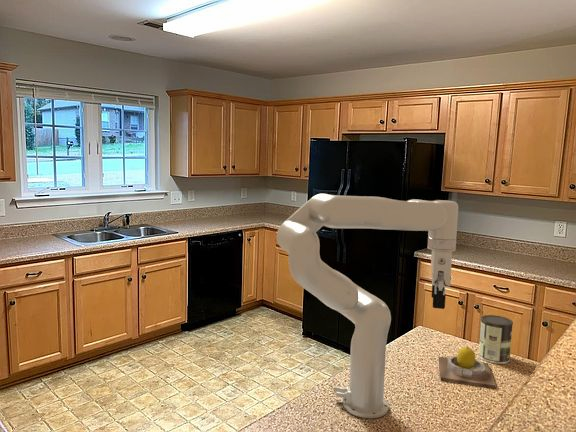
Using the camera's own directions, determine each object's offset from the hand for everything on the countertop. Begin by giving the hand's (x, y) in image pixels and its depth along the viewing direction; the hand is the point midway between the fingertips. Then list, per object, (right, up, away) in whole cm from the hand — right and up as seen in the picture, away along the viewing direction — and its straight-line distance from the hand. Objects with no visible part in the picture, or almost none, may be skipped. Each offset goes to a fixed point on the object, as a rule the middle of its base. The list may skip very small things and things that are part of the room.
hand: (437, 302), depth 127 cm
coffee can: (+30, -26, +31) cm, 50 cm away
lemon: (+15, -26, +18) cm, 35 cm away
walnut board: (+15, -27, +18) cm, 36 cm away
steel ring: (+15, -27, +18) cm, 36 cm away
